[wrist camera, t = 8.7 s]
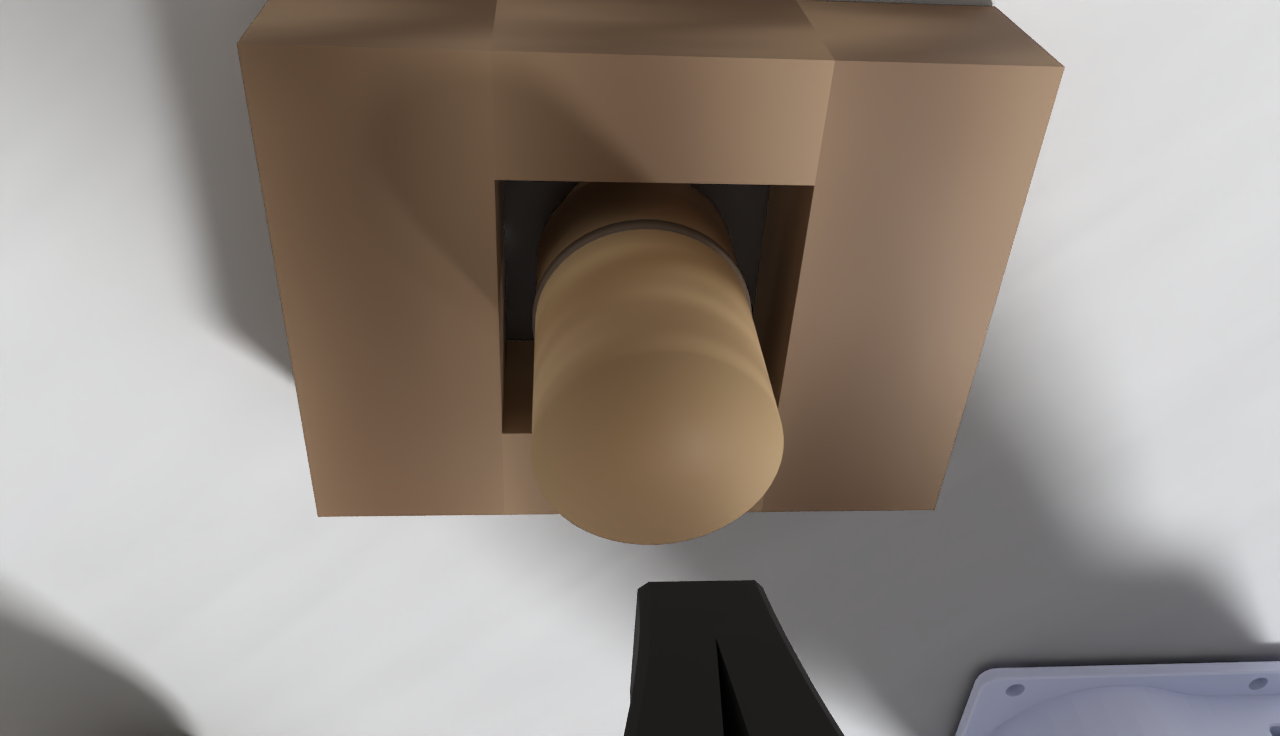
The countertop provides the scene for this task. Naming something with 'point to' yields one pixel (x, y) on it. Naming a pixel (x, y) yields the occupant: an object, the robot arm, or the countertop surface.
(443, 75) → the board
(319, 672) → the countertop surface
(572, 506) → the peg
